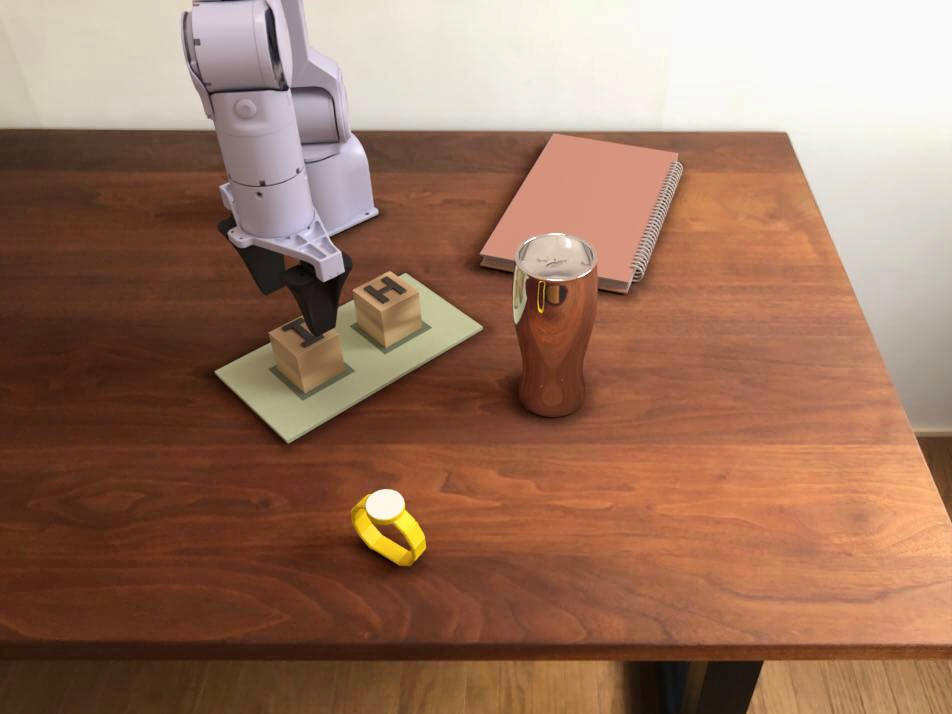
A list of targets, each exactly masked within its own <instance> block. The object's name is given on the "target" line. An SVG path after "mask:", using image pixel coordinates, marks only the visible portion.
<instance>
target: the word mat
mask: <svg viewBox="0 0 952 714" xmlns="http://www.w3.org/2000/svg"><path fill="white" fill-rule="evenodd" d="M398 277H399V278H401V279H402V280H403V281H405V282H406V283H408V284H409V285H410V286H412V287H413V288H415V289H416V290H418V291H419V299H420V309H421V318H422V328H421V329H419V330H418V331H416V332H414V333H412V334H410V335H409V336H407V337H405V338H403V339H402V340H400V341H398V342H396V343H394V344H393V345H391V346H389V347H387V348H385V347H384V346H382V345H381V344H380V343H379V342H377V341H376V340H375V339H374V338H372V337H371V336H370V335H368V334H367V333H366V332H365V331H363V330H362V329H361V328H359V327H358V322H357V316H356V310H355V304H354V299H352V300H350V301H348V302H346V303H344V304H342V305H340V306H338V312H337V320H336V327H335V328H334V329H333V330H334V331H335V332H337V333H338V334H339V339H340V345H341V350H342V355H343V360H344V366H345V371H344V372H343V373H341V374H339V375H337V376H335V377H334V378H332V379H330V380H328V381H326V382H325V383H323V384H321V385H319V386H318V387H316V388H314V389H312V390H310V391H309V392H307V393H304V392H302V391H301V390H300V389H299V388H298V387H297V386H296V385H295V384H293V383H292V382H291V381H290V380H289V379H288V378H287V377H286V376H284V375H283V374H282V373H281V372H280V371H279V370H278V368H277V365H276V361H275V357H274V353H273V349H272V346H271V342H270V341H269V343H267V344H264V345H263V346H260V347H258V348H257V349H255V350H253V351H251V352H249V353H246V354H245V355H243V356H242V357H240V358H239V357H238V358H237V359H235V360H234V361H232V362H230V363H228V364H226V365H224V366H222V367H220V368H218V369H216V370H214V375H216V377H217V378H219V380H220V381H221V382H222V383H224V384H225V385H226V386H227V387H228V388H229V389H230V390H231V391H232V392H233V393H234V394H235V395H236V396H237V397H238V398H239V399H240V400H241V401H243V403H245V404H246V406H247V407H249V408H250V409H251V410H252V411H253V413H255V414H256V415H257V416H258V417H259V418H260V419H261V420H262V421H263V422H264V423H265V424H266V425H267V426H268V427H270V428H271V429H272V430H273V432H275V433H276V435H278V436H279V437H280V438H281V439H282V440H283V441H284V442H285V443H286V444H290V443H292V442H294V441H295V440H297V439H299V438H301V437H302V436H304V435H306V434H307V433H309V432H311V431H313V430H315V429H316V428H318V427H319V426H321V425H323V424H325V423H327V422H328V421H329V420H331V419H333V418H335V417H337V416H338V415H340V414H342V413H343V412H344V411H345V412H346V410H348V409H350V408H352V407H354V406H355V405H357V404H359V403H360V402H362V401H364V400H365V399H367V398H369V397H370V396H372V395H374V394H376V393H377V392H379V391H381V390H382V389H384V388H386V387H387V386H390V384H393V383H395V382H396V381H398V380H399V379H401V378H403V377H404V376H406V375H408V374H410V373H412V372H413V371H414V370H417V369H418V368H420V367H422V366H424V365H425V364H427V363H428V362H430V361H431V360H434V359H435V358H437V357H439V356H440V355H442V354H444V353H445V352H447V351H450V350H451V349H453V348H454V347H456V346H457V345H459V344H461V343H462V342H464V341H466V340H468V339H469V338H471V337H473V336H474V335H476V334H478V333H479V332H482V331H483V330H484V328H483V325H481V324H479V323H478V322H477V321H475V320H474V319H473V318H471V317H470V316H468V315H467V314H465V313H464V312H462V311H461V310H460V309H458V308H457V307H455V306H454V305H453V304H451V303H450V302H448V301H446V299H444V298H443V297H441V296H440V295H438V294H437V293H435V292H434V291H433V290H431V289H429V288H428V287H427V286H425V284H423V283H421V282H419V281H418V280H417V279H416V278H414V277H412V276H411V275H409V274H408V273H407V272H404V273H403V274H401V275H399V276H398Z"/></svg>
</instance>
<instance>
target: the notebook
mask: <svg viewBox="0 0 952 714" xmlns="http://www.w3.org/2000/svg"><path fill="white" fill-rule="evenodd" d="M679 155H680V154H679V152H674V151H669V150H661V149H654V148H648V147H642V146H637V145H629V144H625V143H624V144H623V143H618V142H613V141H605V140H604V141H603V140H600V139H599V140H598V139H593V138H586V137H579V136H573V135H568V134H561V133H553V134H552V135H551V137H550V139H549V140H548V142H547V143H546V144H545V146H544V148H543V149H542V152H541V153H540V155H539V157H538V158H537V160H536V161H535V163H534V165H533V166H532V168H531V169H530V171H529V173H528V174H527V176H526V178H525V179H524V181H523V183H522V184H521V186H520V187H519V189H518V191H517V192H516V194H515V196H514V197H513V199H512V200H511V201H510V204H509V205H508V206H507V209H506V210H505V212H504V214H503V215H502V217H500V220H499V222H498V223H497V225H496V227H494V230H493V231H492V233H491V235H490V236H489V238H488V240H487V241H486V242H485V244H484V246H483V248H482V249H481V251H480V253H479V256H481V257H483V258H482V260H481V262H480V264H479V266H480V267H486V268H491V269H496V270H501V271H506V272H511V273H513V270H514V253H515V250H516V248H517V247H518V245H519V244H520V243H521V242H523V241H524V240H526V239H527V238H529V237H532V236H534V235H537V234H542V233H549V232H560V233H568V234H572V235H576V236H578V237H581V238H583V239H585V240H586V241H588V242H589V243H590V244H591V245H592V246H593V247H594V248H595V250H596V252H597V255H598V261H597V268H598V290H599V289H600V290H604V291H609V292H615V293H619V294H624V295H628V293H629V290H630V287H631V285H632V282H633V283H638V282H640V281H642V280H643V278H644V276H645V272H646V270H647V267H648V265H649V262H650V259H651V257H652V254H653V251H654V248H655V246H656V244H657V241H658V238H659V235H660V233H661V231H662V227H663V224H664V222H665V219H666V216H667V214H668V212H669V208H670V206H671V204H672V201H673V198H674V195H675V193H676V190H677V187H678V185H679V182H680V179H681V177H682V173H683V171H684V167H683V165H682V164H681V162H679V161H678V159H679Z"/></svg>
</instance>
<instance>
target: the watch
mask: <svg viewBox="0 0 952 714" xmlns="http://www.w3.org/2000/svg"><path fill="white" fill-rule="evenodd" d="M350 521H351V524H352V526H353V528H354V530H355V532H356V534H357V535H358V537H359V538H360V539H361V540H362V542H364V544H365V546H367V547H368V548H369V549H370V551H372V550H373V551H374V552H375V553H377V554H379V555H381V556H383V557H384V558H386V559H388V560H389V561H391V562H392V563H394V564H396V565H397V566H398V567H411V566H412V565H413V564H414V563H415V562H416V561H417V560H418V559H419V557H421V555H422V554H423V553H424V552H425V550H427V543H426V536H425V533H424V531H423V530H422V528H421V527H420V525H419V523H418V521H416V519H415V518H414V517H413V516H412V515H411V514H410V513H409V512H408V510H406V502H405V499H404V497H403V496H402V494H401V493H399V491H397V490H394V489H390V488H389V489H388V488H383V489H379V490H376V491H375V492H373V493H368V494H366V495H365V496H363V497H362V498H361V499H360V500H359V502H357V503H356V504H355V505H354V506H353V507H352V508H351V510H350ZM374 524H376V525H379V526H389V525H393V526H394V527H395V528H396V530H397V531H399V532H400V533H401V534H402V536H403V537H404V539H405V541H406V542H407V544H408V546H409V548H410V550H409V549H406V548H404V547H403V546H401V544H400V545H399V544H398V543H396V542H394V541H393V540H391V539H390V538H388V537H386V536H384V535H383V534H382V533H381V532H380V531H379V530H378V529H377V527H376V526H375V525H374Z"/></svg>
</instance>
